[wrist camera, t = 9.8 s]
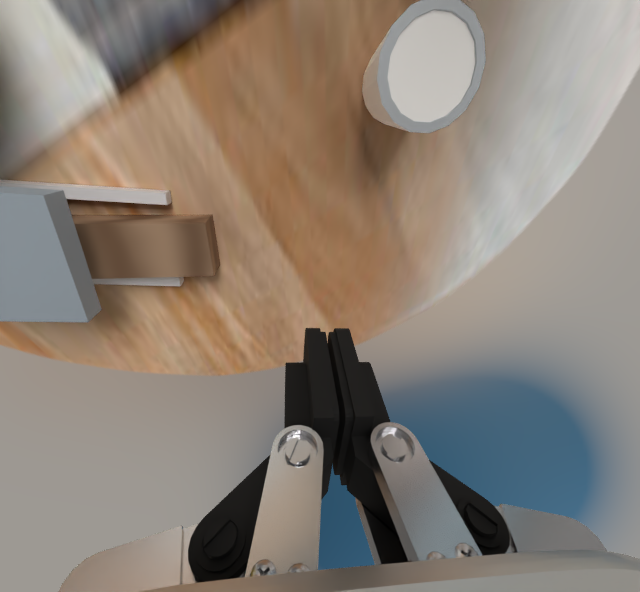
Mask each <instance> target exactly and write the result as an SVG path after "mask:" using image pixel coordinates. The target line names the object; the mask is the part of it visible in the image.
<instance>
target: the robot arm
mask: <svg viewBox="0 0 640 592" xmlns="http://www.w3.org/2000/svg"><path fill="white" fill-rule="evenodd" d="M285 374H286V375H285V429H284V430H282V431H281V432H280V433H279V434H278V435H277V436H276V438H275V440H274V443H273V446H272V450H271V455H270V456H268V457H267V458H266V459H265V460H264V461H263V462H262V463H261V464H260V465H259V466H258V467H257V468H256V469H255V470H254V471H253V472H252V473H251V474H249V475H248V476H247V477H246V478H245V479H244V480H243V481H242V482H241V483H240V484H239V485H238V486H237V487H236V488H235V489H234V490H233V491H232V492H231V493H229V494H228V496H226V497H225V498H224V499H223V500H222V501H221V502H220V503H219V504H218V505H217V506H216V507H215V508H214V509H213V510H212V511H210V512H209V513H208V514H207V515H206V516H205V517H204V518H203V519H202V521H201V522H200V523H199V524H196V525H193V526H190V527H187V528H183V526H179V527H176V528H173V529H170V530H167V531H163V532H160V533H157V534H154V535H151V536H148V537H145V538H142V539H139V540H135V541H133V542H129V543H126V544H123V545H120V546H117V547H114V548H111V549H108V550H104V551H102V552H98V553H96V554H94V555H92V556H90V557H88V558H86V559H85V560H84V561H82V562H81V563H80V564H79V565H78V566H77V567H75V569H73V570H72V571H71V573H70V574H69V575H68V577H67V578H66V580H65V581H64V582H63V583H62V585H61V588H60V590H59V592H640V559H638V558H635V557H631V556H628V555H624V554H619V553H614V552H608V551H607V550H606V548H605V547H604V546H603V544H602V543H601V541H600V540H599V538H598V537H597V536H596V535H595V534H594V533H593V532H592V531H591V530H590V529H589V528H587V527H586V526H585V525H583V524H581V523H580V522H578V521H577V520H574V519H572V518H569V517H566V516H561V515H555V514H551V513H546V512H540V511H535V510H531V509H526V508H521V507H515V506H510V505H505V504H500V505H499V507H497V506H493V505H492V504H491V503H490V502H489V501H488V500H486V499H485V498H484V497H482V496H481V495H479V494H478V493H476V492H475V491H473V490H472V489H471V488H469V487H468V486H466V485H465V484H463V483H462V482H460V481H459V480H457V479H456V478H455V477H453V476H452V475H450V474H449V473H447V472H446V471H444V470H443V469H441V468H440V467H438V466H437V465H436V464H434V463H433V462H431V461H430V460H428V458H427V456H426V454H425V452H424V451H423V449H422V447H421V445H420V444H419V442H418V440H417V439H416V437H415V436H414V434H413V433H412V432H410V431H409V430H408V429H407V428H406V427H404V426H402V425H400V424H396V423H393V422H390V419H389V417H388V413H387V410H386V407H385V405H384V402H383V399H382V396H381V393H380V390H379V387H378V384H377V381H376V379H375V376H374V372H373V370H372V367H371V364H370V363H369V362H359V361H358V357H357V354H356V350H355V347H354V344H353V340H352V337H351V333H350V330H349V329H341V328H335V329H334V332H329V335H328V344H327V338H326V333H325V332H321V331H320V328H306V330H305V344H304V359H303V363H286V372H285ZM332 463H333V469H334V474H335V475H340V480H341V485H347V490H348V491H349V492H350V493H351V494H352V495H353V496H354V497H356V504H357V508H358V511H359V514H360V518H361V521H362V524H363V527H364V531H365V534H366V537H367V540H368V543H369V547H370V550H371V553H372V556H373V559H374V563H375V565H372V566H360V567H349V568H338V569H328V570H318V553H319V534H320V512H321V500H322V498H323V497H324V496H325V494H326V493H327V491H328V486H329V480H330V474H331V469H332Z"/></svg>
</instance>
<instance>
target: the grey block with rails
mask: <svg viewBox="0 0 640 592" xmlns="http://www.w3.org/2000/svg"><path fill="white" fill-rule="evenodd" d="M66 199H75V200H92V201H108V202H125V203H142V204H159V205H168V204H170V203H171V202H172V200H171V194H170V191H168V190H152V189H137V188H122V187H106V186H91V185H76V184H61V183H45V182H30V181H15V180H0V321H18V322H89V321H90V320H91V319H92V318H93V317H94V316H95V315H97V314H98V313H99V312H100V311H101V310H102V309H101V306H100V302H99V299H98V296H97V293H96V290H95V287H94V284H109V285H147V286H181V285H182V283H183V282H184V277H156V278H112V279H92V278H91V274H90V271H89V268H88V265H87V262H86V259H85V256H84V253H83V250H82V246H81V243H80V240H79V237H78V234H77V231H76V228H75V225H74V222H73V218H72V215H71V212H70V209H69V206H68V203H67V200H66Z"/></svg>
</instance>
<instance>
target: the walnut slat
mask: <svg viewBox="0 0 640 592" xmlns="http://www.w3.org/2000/svg"><path fill="white" fill-rule="evenodd" d="M72 218H73V222H74V225H75V228H76V231H77V234H78V237H79V240H80V243H81V246H82V250H83V253H84V256H85V259H86V262H87V265H88V268H89V271H90V274H91V278H92V279H112V278H156V277H200V276H214V275H215V273H216V271H217V269H218V267H219V265H220V260H219V253H218V247H217V240H216V234H215V228H214V221H213V215H72Z"/></svg>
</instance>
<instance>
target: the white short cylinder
mask: <svg viewBox="0 0 640 592" xmlns="http://www.w3.org/2000/svg"><path fill="white" fill-rule="evenodd" d="M485 62H486V58H485V38H484V33H483V30H482V28H481V26H480V24H479V21H478V19H477V17H476V14H475V12H474V11H473V10H472V9H470V8H469V7H468V6H467V5H465V4H464V3H463V2H462V1H461V0H421V1H418V2H416V3H414V4H412V5H410V6H409V7H408V9H407V10H406V11H405V12H404V13H403V14H402V15H401V16H400V17H399V18H398V19H397V20H396V21H395V23H394V24H393V25H392V26H391V28H390V29H389V31H388V32H387V34H386V35H385V37H384V39H383V40H382V42H381V43H380V45H379V46H378V48H377V50H376V51H375V53H374V54H373V56H372V57H371V59H370V61H369V63H368V66H367V68H366V70H365V73H364V76H363V86H362V94H363V98H364V102H365V106H366V108H367V109H368V111H369V112H370V114H371V115H372V117H373V118H375V119H376V120H378V121H380V122H381V123H383V124H385V125H388V126H392V127H395V128H398V129H402V130H405V131H408V132H417V133H431V132H434V131H436V130H439V129H441V128H444V127H446V126H449V125H450V124H451V123H452V122H453V121H454V120H455V119H456V118H457V117H459V116H460V115H461V114H462V113H463V112H464V111H465V110H466V109H467V107H468V105H469V104H470V102H471V100H472V99H473V97H474V95H475V93H476V92H477V90H478V88H479V85H480V82H481V78H482V74H483V70H484V66H485Z"/></svg>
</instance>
